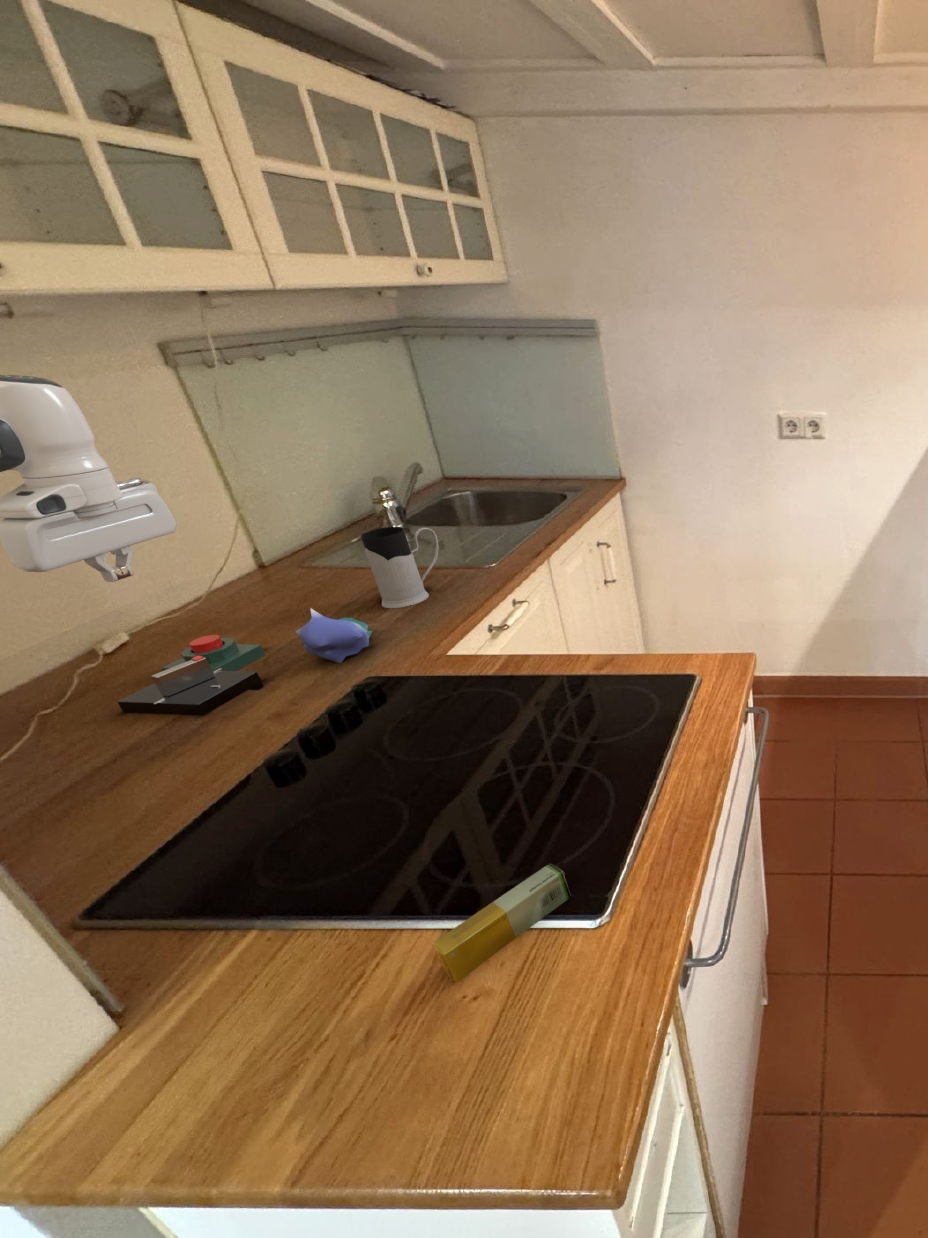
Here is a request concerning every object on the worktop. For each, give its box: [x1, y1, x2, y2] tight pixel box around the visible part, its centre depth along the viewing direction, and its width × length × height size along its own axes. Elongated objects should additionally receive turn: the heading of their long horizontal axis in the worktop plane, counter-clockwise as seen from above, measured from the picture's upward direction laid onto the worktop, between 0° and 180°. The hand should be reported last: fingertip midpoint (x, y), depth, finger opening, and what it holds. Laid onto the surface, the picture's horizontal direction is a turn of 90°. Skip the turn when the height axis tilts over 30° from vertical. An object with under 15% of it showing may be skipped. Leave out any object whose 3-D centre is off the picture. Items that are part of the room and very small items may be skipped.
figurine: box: [295, 608, 374, 664], centre depth 120 cm, size 13×12×9 cm
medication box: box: [431, 863, 572, 983], centre depth 65 cm, size 12×3×4 cm, turn 144°
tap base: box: [117, 668, 265, 717], centre depth 108 cm, size 14×11×3 cm
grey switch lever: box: [151, 656, 215, 697], centre depth 106 cm, size 6×2×4 cm, turn 159°
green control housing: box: [161, 637, 266, 671], centre depth 118 cm, size 10×9×4 cm
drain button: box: [188, 634, 223, 653], centre depth 117 cm, size 4×4×2 cm
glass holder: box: [360, 526, 440, 609], centre depth 143 cm, size 9×14×15 cm, turn 146°
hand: (120, 578), depth 105 cm, fingers closed
